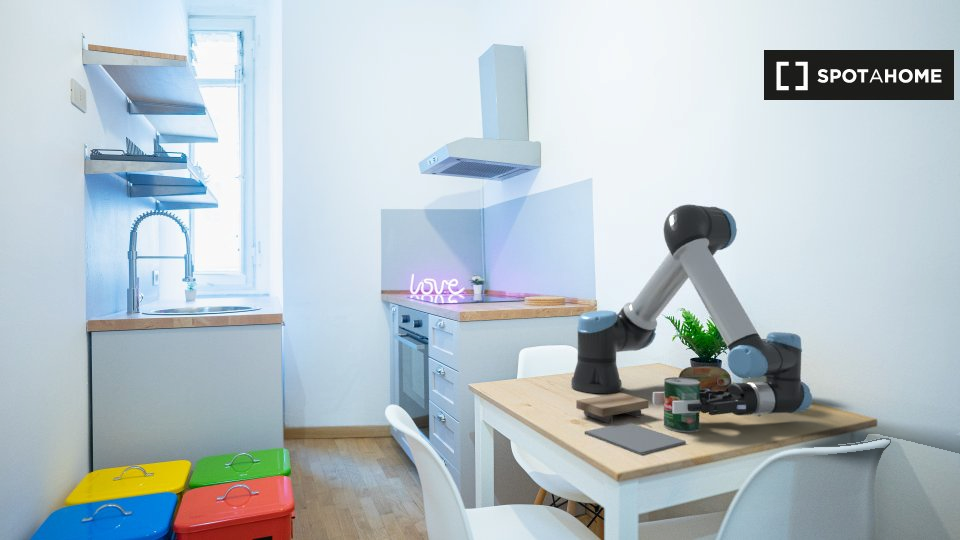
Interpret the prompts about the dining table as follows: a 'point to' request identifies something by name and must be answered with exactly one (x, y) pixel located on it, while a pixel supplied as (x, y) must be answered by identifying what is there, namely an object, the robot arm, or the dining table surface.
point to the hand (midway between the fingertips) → (663, 402)
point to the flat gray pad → (635, 438)
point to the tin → (708, 377)
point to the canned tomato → (678, 392)
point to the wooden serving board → (612, 406)
